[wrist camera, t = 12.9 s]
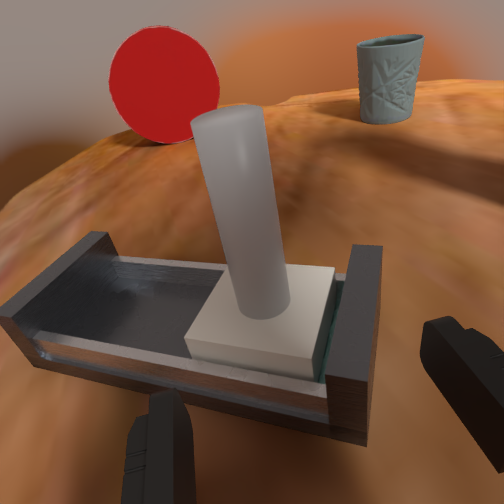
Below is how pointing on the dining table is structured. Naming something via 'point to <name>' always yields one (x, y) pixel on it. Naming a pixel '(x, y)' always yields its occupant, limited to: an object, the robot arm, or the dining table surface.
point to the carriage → (255, 261)
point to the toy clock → (162, 83)
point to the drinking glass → (388, 77)
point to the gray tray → (175, 328)
